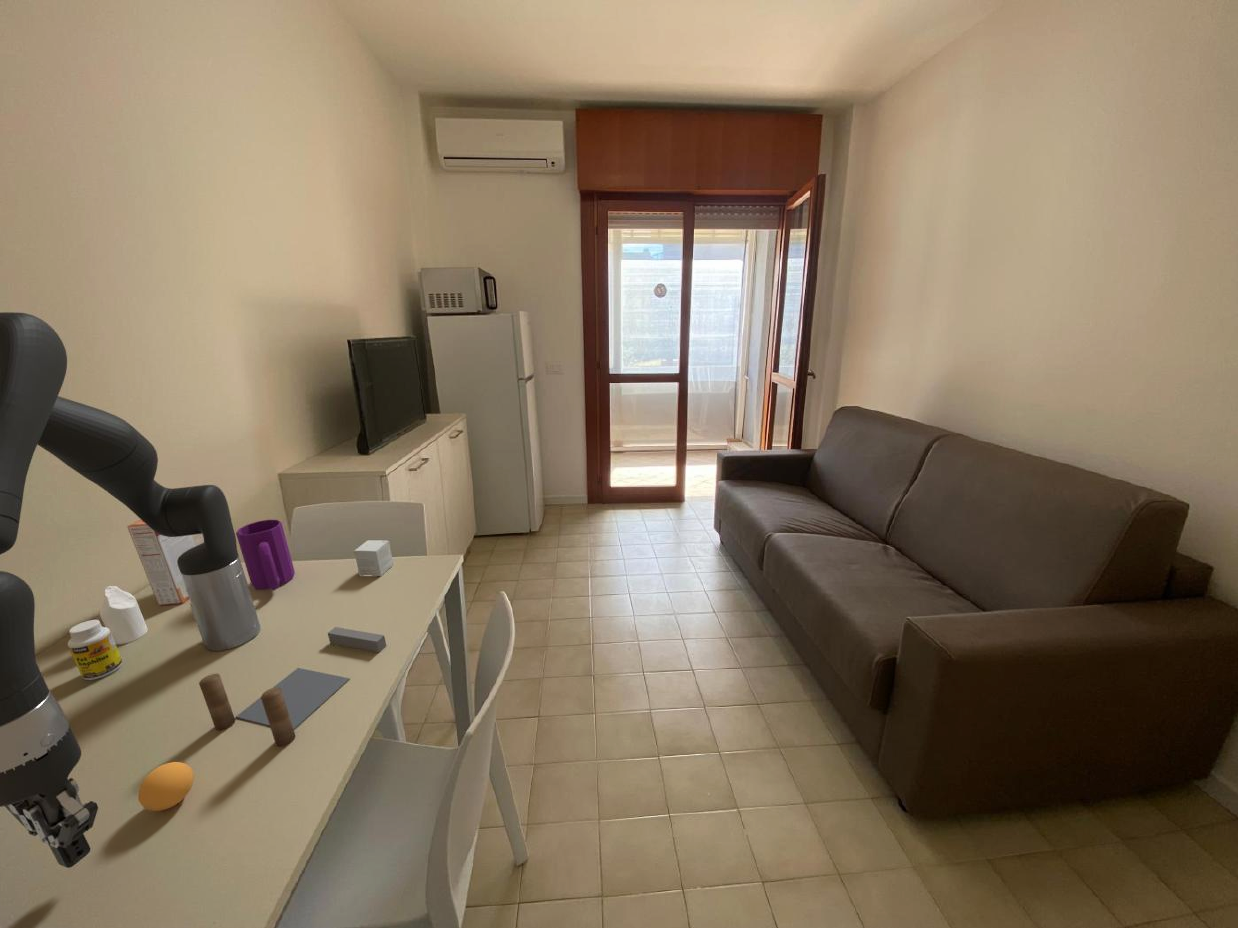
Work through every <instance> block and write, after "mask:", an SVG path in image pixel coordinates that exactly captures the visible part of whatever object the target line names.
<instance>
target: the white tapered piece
mask: <svg viewBox="0 0 1238 928" xmlns="http://www.w3.org/2000/svg"><path fill="white" fill-rule="evenodd" d="M103 597H104V598H103V602H102V605H101V608H100V610H99V615H100V619H101V620H102V623H103V625H104V627H106V628H108V629H109V630H110V632H111V634H112V637H113V639H114V642H115V644H116V645H124V644H129V643H132V642H134V641H136V640H138V639H141V637H143V636H144V635H146V634H147V632H148V626H147V624H146V622H145V619H144V616H143V614H142V611H141V608H140V606H139V603H138V601H137V598H135V596H134V595H132V593H130V592H128V591H125V590H122V589H121V588H119V587H118V586H116V585H109V586H106V587H105V589H104V595H103Z"/></svg>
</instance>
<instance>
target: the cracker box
mask: <svg viewBox="0 0 1238 928" xmlns="http://www.w3.org/2000/svg"><path fill="white" fill-rule="evenodd" d="M126 528H127V530H128V533H129V535H130V537H131V540H132V542H133V545H134V547H135V550H136V552H137V555H138V558H139V560H140V562H141V565H142V567H143V570H144V572H145V575H146V578H147V580H148V582H149V585H150V588H151V590H152V592H153V595H154V597H155V601H156V603H157V605H158V606H167V605H180V604H183V603H185V602H187V601H188V600H190V598H189V595H188V592H187V589H186V587H185V584H184V581H183V578H182V575H181V572H180V570H179V567H178V564H177V560H178V558H179V556H180V555H182V554H183V553H184V552H186V551H187V550H189V549H191V548H193V547H195V546H197V545H200V544H202V543H204V538H203V534H195V535H188V536H180V537H166V536H163V535H160V534H158V533H157V532H155V531H154V530H152V529H151V528H150V527H149V526H148V525H147V524H145V523H144V522H143V521H142V520H141V519H139V520H137V521H135V522H133V523H131V524H129V525H127V526H126Z"/></svg>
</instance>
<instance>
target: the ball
mask: <svg viewBox="0 0 1238 928" xmlns="http://www.w3.org/2000/svg"><path fill="white" fill-rule="evenodd" d="M194 779H195V778H194V771H193V770H192V767H190V766H189V765H188V764H187V763H184V762H179V761H172V762H166V763H164V764H162V765H160V766H158V767H156V768H155V769H153V770H152V771H150V773H148V775H146V777H145V778H144V779H143V781H142V782H141V784H140V786H139V788H138V792H137V793H138V794H137V797H138V798H137V799H138V802H139V803H140V806H142V807H143V809H146V810H148V811H153V812H160V811H164V810H167V809H170V808H172V807H174V806H176V805H177V804H178V803H180V802H181V801H182V800H184V798H186V796H187V795H188V794H189V793H190V791H191V788H192V786H193V784H194Z"/></svg>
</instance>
